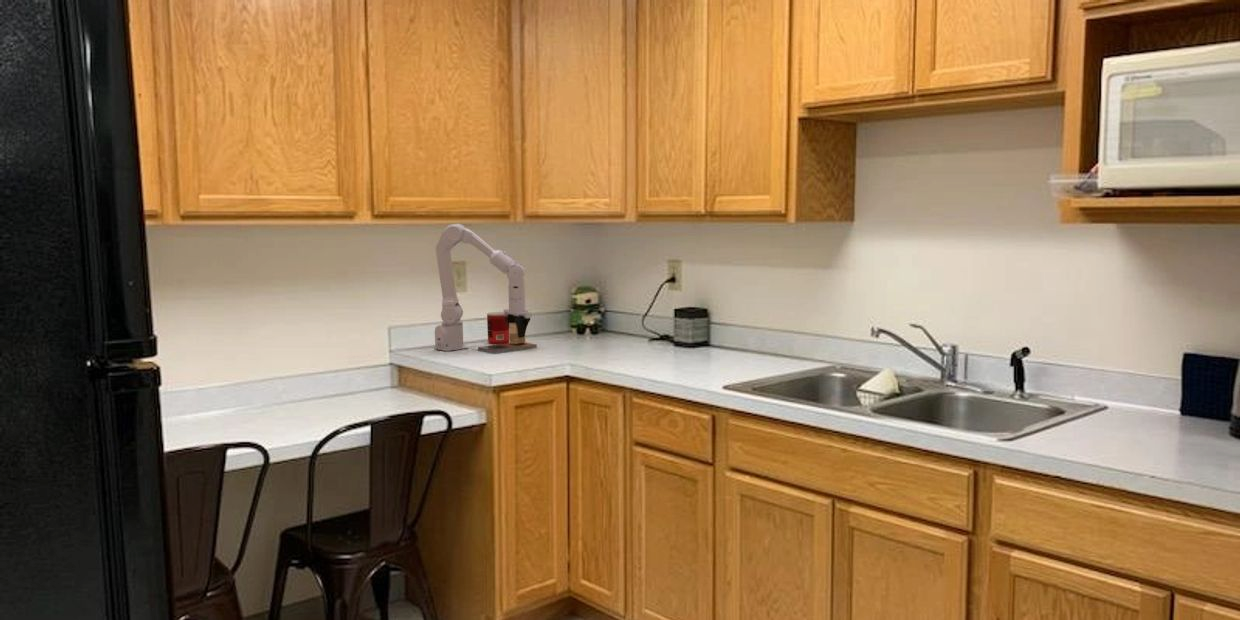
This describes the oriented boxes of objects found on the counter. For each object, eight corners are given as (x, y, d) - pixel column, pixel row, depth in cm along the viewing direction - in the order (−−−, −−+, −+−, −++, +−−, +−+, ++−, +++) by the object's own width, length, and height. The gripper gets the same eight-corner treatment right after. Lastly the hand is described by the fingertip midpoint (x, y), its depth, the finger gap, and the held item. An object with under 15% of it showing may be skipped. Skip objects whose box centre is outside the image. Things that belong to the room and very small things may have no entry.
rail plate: (493, 353, 309) (493, 350, 309) (478, 350, 317) (477, 346, 317) (536, 347, 321) (536, 344, 321) (520, 344, 329) (520, 341, 329)
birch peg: (516, 343, 319) (515, 324, 318) (509, 342, 322) (509, 322, 321) (525, 342, 321) (524, 322, 321) (519, 341, 324) (518, 321, 324)
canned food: (513, 341, 336) (512, 312, 334) (499, 344, 329) (498, 314, 328) (497, 340, 340) (496, 311, 338) (483, 343, 333) (482, 313, 332)
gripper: (538, 299, 317) (539, 337, 319) (514, 296, 328) (515, 333, 330) (521, 300, 312) (522, 339, 314) (498, 297, 323) (499, 335, 325)
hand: (517, 336), depth 322 cm, fingers closed on birch peg, 4 cm apart
